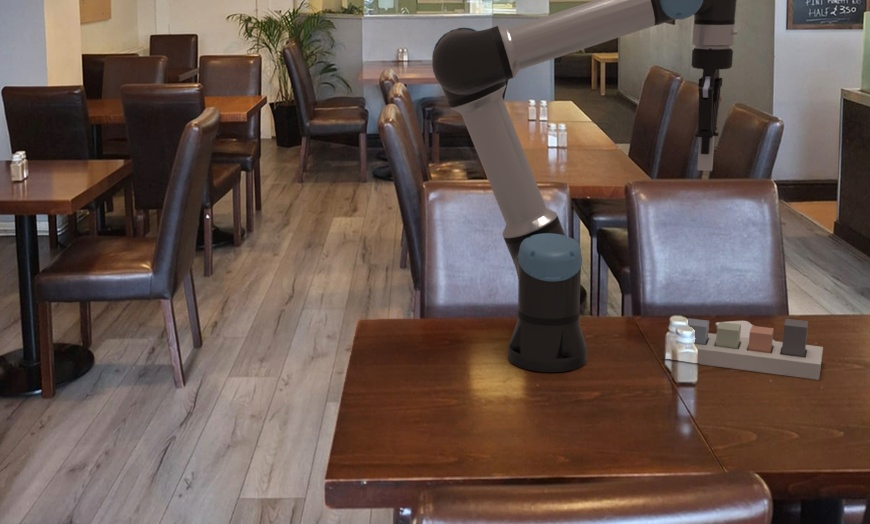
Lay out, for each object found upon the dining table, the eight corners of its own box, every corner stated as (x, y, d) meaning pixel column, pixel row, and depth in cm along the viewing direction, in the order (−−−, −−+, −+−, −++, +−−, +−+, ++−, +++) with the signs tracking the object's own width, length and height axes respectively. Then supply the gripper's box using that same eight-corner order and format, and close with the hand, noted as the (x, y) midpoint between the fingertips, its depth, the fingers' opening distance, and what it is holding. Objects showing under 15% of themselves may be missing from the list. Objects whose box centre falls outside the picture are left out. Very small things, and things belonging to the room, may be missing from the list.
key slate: (683, 353, 201) (684, 324, 200) (686, 347, 205) (688, 318, 203) (704, 356, 200) (706, 327, 198) (707, 349, 203) (709, 320, 202)
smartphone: (746, 347, 206) (713, 322, 220) (746, 350, 206) (713, 325, 220) (780, 344, 207) (746, 320, 221) (780, 348, 207) (746, 323, 221)
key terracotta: (747, 362, 197) (749, 332, 195) (749, 355, 200) (751, 325, 199) (769, 364, 195) (771, 334, 194) (771, 358, 199) (773, 328, 197)
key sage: (714, 358, 199) (716, 328, 197) (717, 351, 202) (719, 322, 201) (736, 360, 197) (738, 330, 196) (738, 353, 201) (741, 324, 199)
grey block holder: (664, 359, 200) (665, 344, 199) (673, 343, 209) (674, 329, 208) (819, 379, 189) (820, 364, 189) (821, 361, 198) (823, 346, 198)
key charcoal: (781, 355, 194) (784, 325, 192) (783, 348, 198) (785, 318, 196) (804, 358, 192) (807, 327, 191) (805, 351, 196) (808, 321, 194)
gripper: (728, 49, 190) (719, 177, 196) (737, 45, 202) (728, 165, 208) (687, 49, 193) (679, 174, 199) (698, 44, 205) (690, 163, 211)
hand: (704, 169), depth 204 cm, fingers closed
